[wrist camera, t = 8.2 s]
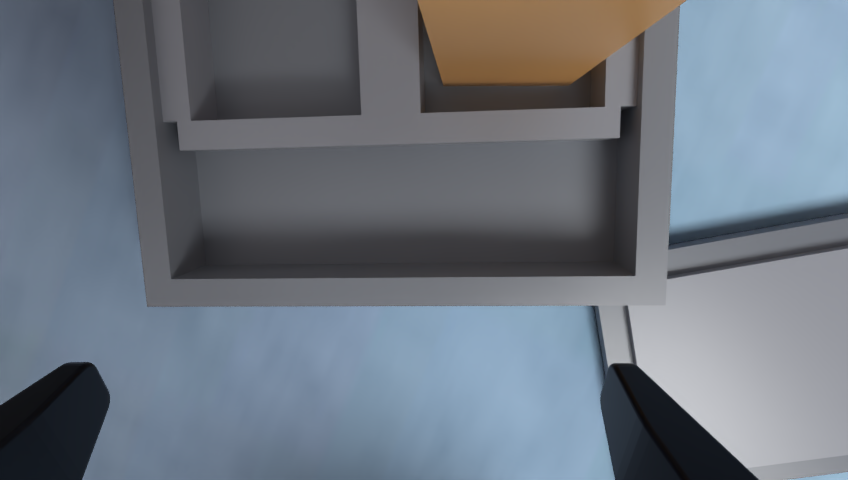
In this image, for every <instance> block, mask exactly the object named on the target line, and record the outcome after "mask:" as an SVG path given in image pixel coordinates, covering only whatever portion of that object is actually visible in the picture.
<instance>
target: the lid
mask: <svg viewBox="0 0 848 480" xmlns="http://www.w3.org/2000/svg"><path fill="white" fill-rule="evenodd" d="M594 308H595V314H596V320H597V327H598V333H599V339H600V345H601V351H602V358H603V364H604V370H605V376H606V374H607V370H608V368H609V366H610V365H611V364H613V363H632V364H635V365H637V366H638V367H639V368H641V369H642V370H643V371H644V372H645V373H646V374H647V375H648V376H649V377H650V378H651V379H652V380H653V381H654V382H656V383H657V384H658V385H659V386H660V387H661V388H662V389H663V390H664V391H665V392H666V393H667V394H668V395H669V396H670V397H672V398H673V399H674V400H675V401H676V402H677V403H678V404H679V405H680V406H681V407H682V408H683V409H684V410H685V411H686V412H688V413H689V414H690V415H691V416H692V417H693V418H694V419H695V420H696V421H697V422H698V423H699V424H700V425H701V426H702V427H704V428H705V429H706V430H707V431H708V432H709V433H710V434H711V435H712V436H713V437H714V438H715V439H716V440H717V441H719V442H720V443H721V444H722V445H723V446H724V447H725V448H726V449H727V450H728V451H729V452H730V453H731V454H732V455H733V456H735V457H736V458H737V459H738V460H739V461H740V462H741V463H742V464H743V465H744V466H745V467H746V468H747V469H748V470H749V471H751V472H752V473H753V474H754V475H755V476H756V477H757V478H758V479H759V480H788V479H796V478H803V477H811V476H819V475H827V474H835V473H843V472H848V213H845V214H839V215H834V216H828V217H822V218H817V219H811V220H806V221H800V222H794V223H789V224H783V225H777V226H772V227H766V228H761V229H755V230H749V231H744V232H738V233H733V234H727V235H721V236H716V237H710V238H705V239H699V240H693V241H688V242H682V243H676V244H671V245H668V266H667V287H666V305H640V306H594Z"/></svg>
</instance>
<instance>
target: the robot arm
mask: <svg viewBox="0 0 848 480" xmlns="http://www.w3.org/2000/svg"><path fill="white" fill-rule="evenodd" d="M600 401H601V410H602V415H603V420H604V425H605V430H606V435H607V440H608V445H609V450H610V455H611V460H612V465H613V470H614V475H615V480H759V479H758V478H757V477H756V476H755V475H754V474H753V473H752V472H751V471H749V470H748V469H747V468H746V467H745V466H744V465H743V464H742V463H741V462H740V461H739V460H738V459H737V458H736V457H735V456H733V455H732V454H731V453H730V452H729V451H728V450H727V449H726V448H725V447H724V446H723V445H722V444H721V443H720V442H719V441H717V440H716V439H715V438H714V437H713V436H712V435H711V434H710V433H709V432H708V431H707V430H706V429H705V428H704V427H702V426H701V425H700V424H699V423H698V422H697V421H696V420H695V419H694V418H693V417H692V416H691V415H690V414H689V413H688V412H686V411H685V410H684V409H683V408H682V407H681V406H680V405H679V404H678V403H677V402H676V401H675V400H674V399H673V398H672V397H670V396H669V395H668V394H667V393H666V392H665V391H664V390H663V389H662V388H661V387H660V386H659V385H658V384H657V383H656V382H654V381H653V380H652V379H651V378H650V377H649V376H648V375H647V374H646V373H645V372H644V371H643V370H642V369H641V368H639V367H638V366H637V365H635V364H632V363H613V364H611V365H610V366H609V368H608V370H607V374H606V378H605V381H604V385H603V388H602V392H601V398H600ZM109 404H110V394H109V391H108V389H107V387H106V385H105V383H104V381H103V379H102V377H101V376H100V374H99V372H98V370H97V368H96V367H95V365H93V364H92V363H89V362H70V363H66V364H63V365H62V366H60V367H58V368H57V369H55V370H54V371H52V372H51V373H49V374H48V375H46V376H45V377H43V378H41V379H40V380H38V381H37V382H35V383H34V384H32V385H31V386H29V387H28V388H26V389H25V390H23V391H22V392H20V393H19V394H17V395H15V396H14V397H12V398H11V399H9V400H8V401H6V402H5V403H3V404H2V405H0V480H82V478H83V476H84V473H85V470H86V468H87V465H88V462H89V459H90V457H91V454H92V451H93V449H94V446H95V443H96V440H97V438H98V435H99V432H100V430H101V427H102V424H103V421H104V419H105V416H106V413H107V411H108V408H109Z"/></svg>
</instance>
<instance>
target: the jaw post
mask: <svg viewBox="0 0 848 480" xmlns="http://www.w3.org/2000/svg"><path fill="white" fill-rule="evenodd" d="M417 1H418V4H419V7H420V10H421V14H422V17H423V20H424V23H425V27H426V30H427V33H428V37H429V40H430V43H431V46H432V50H433V53H434V56H435V59H436V63H437V66H438V69H439V72H440V76H441V79H442V82H443V86H569V85H570V84H572V83H573V82H574V81H576V80H577V79H579V78H580V77H581V76H583V75H584V74H585V73H587V72H588V71H590V70H591V69H592V68H594V67H595V66H597V65H598V64H599V63H601V62H602V61H603V60H605V59H606V58H608V57H609V56H610V55H612V54H613V53H614V52H616V51H617V50H619V49H620V48H621V47H623V46H624V45H626V44H627V43H628V42H630V41H631V40H632V39H634V38H635V37H637V36H638V35H639V34H641V33H642V32H644V31H645V30H646V29H648V28H649V27H650V26H652V25H653V24H655V23H656V22H657V21H659V20H660V19H661V18H663V17H664V16H666V15H667V14H668V13H670V12H671V11H673V10H674V9H675V8H677V7H678V6H679V5H681V4H682V3H684V2H685V1H686V0H417Z"/></svg>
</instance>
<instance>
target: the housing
mask: <svg viewBox="0 0 848 480" xmlns="http://www.w3.org/2000/svg"><path fill="white" fill-rule="evenodd" d="M113 3H114V12H115V21H116V30H117V39H118V48H119V57H120V66H121V75H122V84H123V93H124V102H125V111H126V120H127V129H128V138H129V147H130V156H131V165H132V174H133V183H134V192H135V201H136V210H137V219H138V228H139V237H140V246H141V255H142V264H143V273H144V282H145V291H146V300H147V307H182V306H640V305H666V287H667V266H668V244H669V223H670V202H671V181H672V160H673V139H674V118H675V97H676V75H677V54H678V33H679V12H680V5H679V6H678V7H677V8H675V9H674V10H673V11H671V12H670V13H668V14H667V15H666V16H664V17H663V18H661V19H660V20H659V21H657V22H656V23H655V24H653V25H652V26H650V27H649V28H648V29H646V30H645V31H644V32H642V33H641V34H639V35H638V36H637V37H635V38H634V39H632V40H631V41H630V42H628V43H627V44H626V45H624V46H623V47H621V48H620V49H619V50H617V51H616V52H614V53H613V54H612V55H610V56H609V57H608V58H606V59H605V60H603V61H602V62H601V63H599V64H598V65H597V66H595V67H594V68H592V69H591V70H590V71H588V72H587V73H585V74H584V75H583V76H581V77H580V78H579V79H577V80H576V81H574V82H573V83H572V84H570V85H569V86H443V82H442V79H441V76H440V72H439V69H438V66H437V63H436V59H435V56H434V53H433V50H432V46H431V43H430V40H429V37H428V33H427V30H426V27H425V23H424V20H423V17H422V14H421V10H420V7H419V4H418V1H417V0H113Z"/></svg>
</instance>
